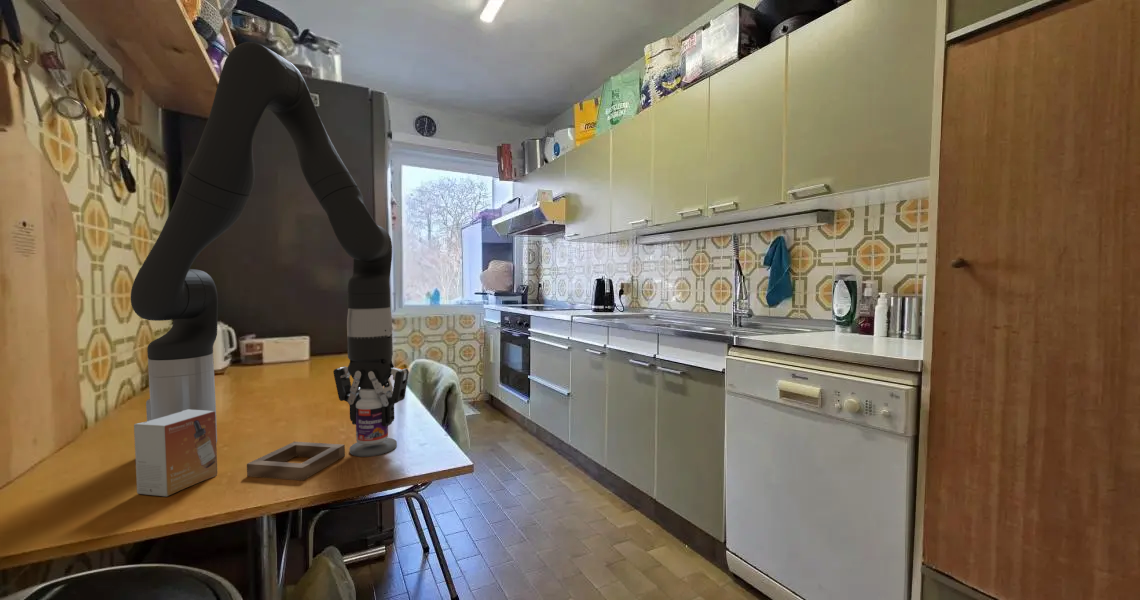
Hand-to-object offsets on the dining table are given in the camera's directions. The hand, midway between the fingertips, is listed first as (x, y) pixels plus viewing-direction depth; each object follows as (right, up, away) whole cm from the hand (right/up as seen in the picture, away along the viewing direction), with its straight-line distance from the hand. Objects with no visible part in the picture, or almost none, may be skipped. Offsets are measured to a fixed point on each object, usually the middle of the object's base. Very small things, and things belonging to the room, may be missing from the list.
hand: (372, 423), depth 84 cm
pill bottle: (0, -3, 0) cm, 3 cm away
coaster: (0, -5, 0) cm, 5 cm away
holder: (-9, -5, -7) cm, 13 cm away
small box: (-24, -6, -14) cm, 28 cm away
